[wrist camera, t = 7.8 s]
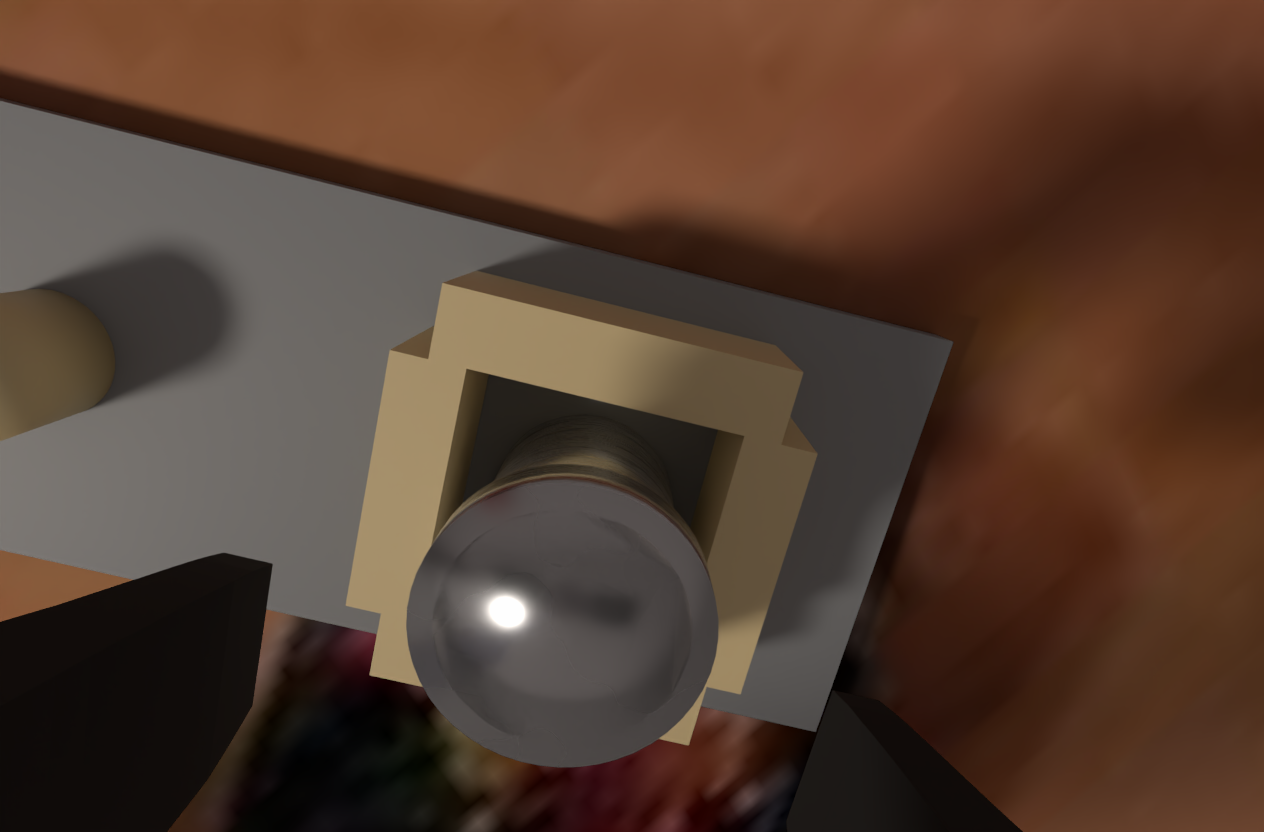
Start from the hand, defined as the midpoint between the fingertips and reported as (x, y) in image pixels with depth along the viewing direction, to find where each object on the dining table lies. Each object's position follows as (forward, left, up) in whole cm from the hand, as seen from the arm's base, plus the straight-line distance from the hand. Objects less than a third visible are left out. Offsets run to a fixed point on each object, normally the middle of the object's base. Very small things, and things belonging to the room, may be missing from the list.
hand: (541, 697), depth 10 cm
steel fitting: (0, 0, -8) cm, 8 cm away
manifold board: (0, +5, -9) cm, 11 cm away
